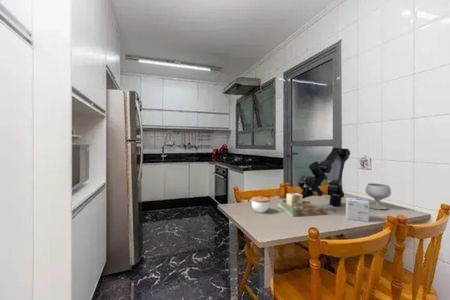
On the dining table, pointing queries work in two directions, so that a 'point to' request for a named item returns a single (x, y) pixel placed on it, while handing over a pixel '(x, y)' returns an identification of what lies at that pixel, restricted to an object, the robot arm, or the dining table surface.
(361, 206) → the light bulb box
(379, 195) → the chalice
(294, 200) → the oak block
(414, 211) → the dining table surface
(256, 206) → the lidded jar
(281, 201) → the trap board
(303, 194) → the robot arm
